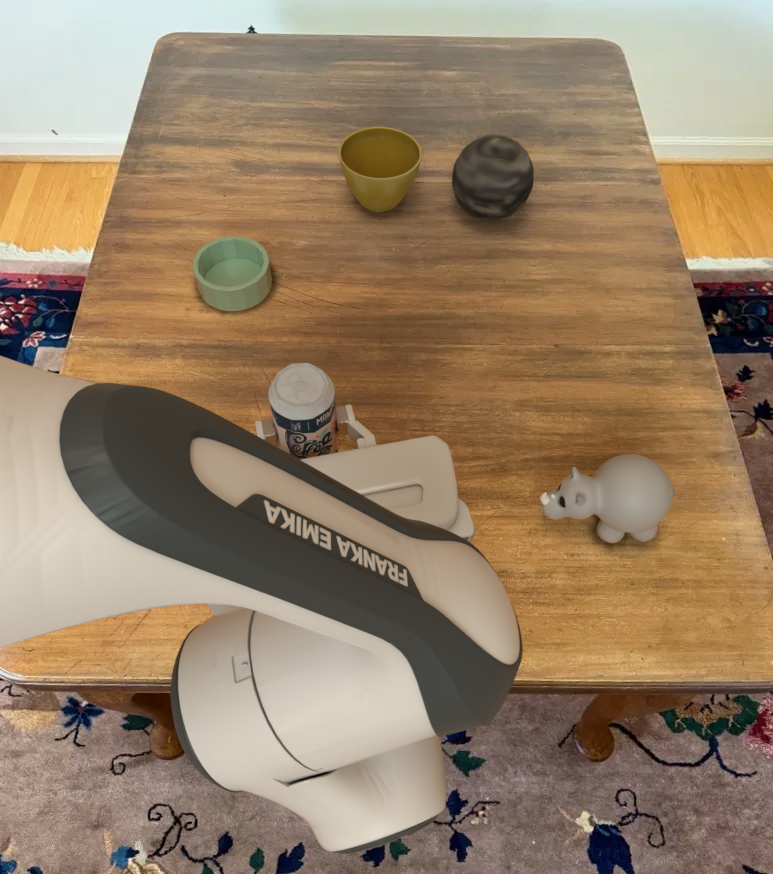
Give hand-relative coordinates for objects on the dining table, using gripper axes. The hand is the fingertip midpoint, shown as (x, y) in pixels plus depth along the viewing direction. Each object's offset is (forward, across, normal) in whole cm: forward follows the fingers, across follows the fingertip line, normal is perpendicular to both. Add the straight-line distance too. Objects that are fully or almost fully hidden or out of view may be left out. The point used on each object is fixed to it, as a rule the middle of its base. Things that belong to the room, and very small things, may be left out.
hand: (303, 416), depth 58 cm
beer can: (-1, 0, +7) cm, 7 cm away
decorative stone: (+38, -29, +17) cm, 50 cm away
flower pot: (+43, -16, +17) cm, 49 cm away
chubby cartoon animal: (-6, -26, +17) cm, 32 cm away
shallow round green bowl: (+32, +4, +17) cm, 36 cm away
